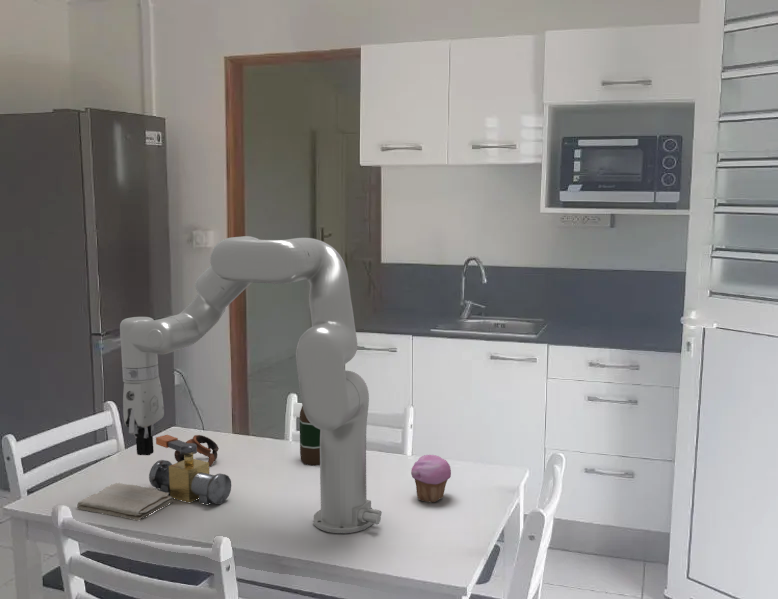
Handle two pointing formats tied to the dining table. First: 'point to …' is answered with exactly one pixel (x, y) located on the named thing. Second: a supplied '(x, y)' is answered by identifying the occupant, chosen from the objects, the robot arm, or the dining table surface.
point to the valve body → (190, 481)
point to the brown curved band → (201, 448)
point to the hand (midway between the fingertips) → (145, 453)
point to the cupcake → (430, 477)
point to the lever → (176, 444)
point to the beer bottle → (309, 441)
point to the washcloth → (126, 501)
